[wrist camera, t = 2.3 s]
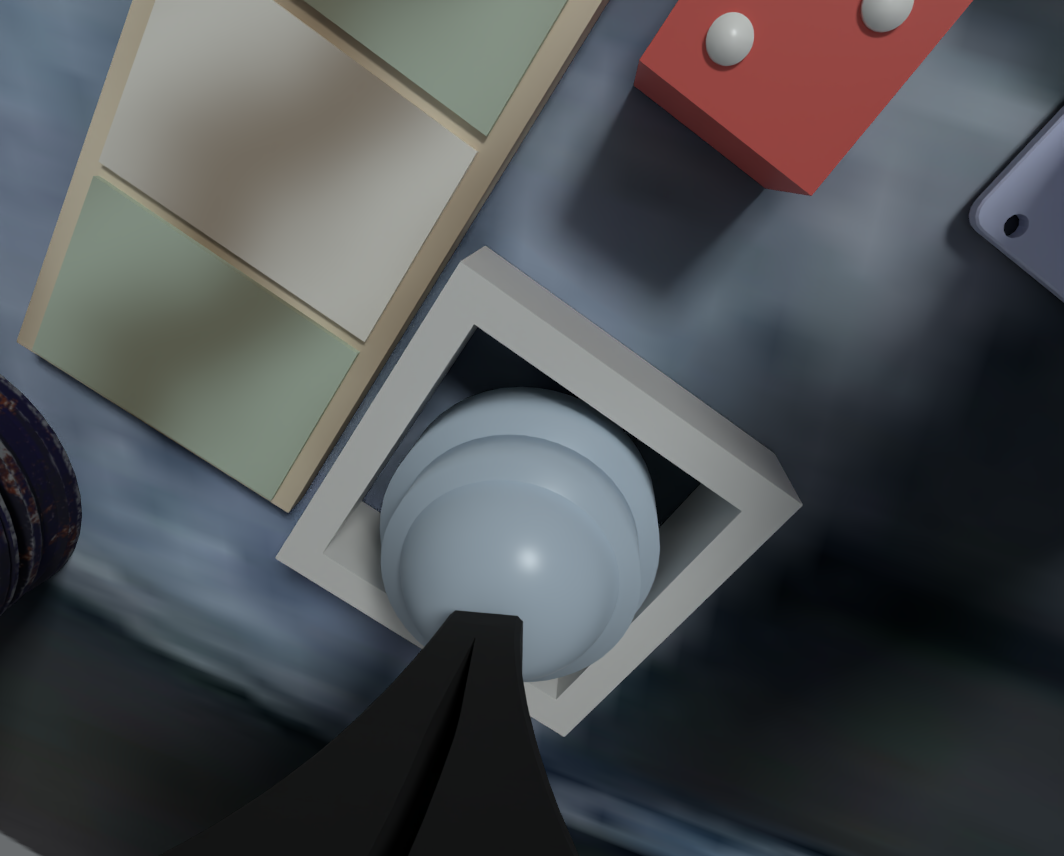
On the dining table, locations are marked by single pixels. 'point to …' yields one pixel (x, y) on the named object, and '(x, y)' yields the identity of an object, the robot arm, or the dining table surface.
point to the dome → (523, 526)
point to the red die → (788, 76)
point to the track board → (281, 207)
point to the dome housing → (608, 386)
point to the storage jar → (32, 498)
